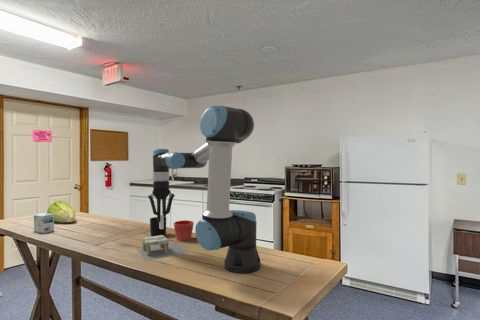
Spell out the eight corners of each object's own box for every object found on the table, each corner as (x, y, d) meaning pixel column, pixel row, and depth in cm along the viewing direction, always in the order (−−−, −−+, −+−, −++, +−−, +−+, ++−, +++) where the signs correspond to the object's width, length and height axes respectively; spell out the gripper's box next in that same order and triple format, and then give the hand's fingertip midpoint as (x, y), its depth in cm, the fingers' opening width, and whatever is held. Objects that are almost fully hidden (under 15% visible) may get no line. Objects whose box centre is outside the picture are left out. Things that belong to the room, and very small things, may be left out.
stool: (168, 239, 141) (146, 242, 136) (168, 252, 141) (146, 255, 136) (162, 235, 150) (142, 237, 145) (162, 246, 150) (142, 249, 145)
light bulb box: (54, 231, 186) (54, 214, 186) (43, 233, 180) (43, 215, 180) (44, 229, 191) (44, 212, 191) (33, 231, 185) (33, 214, 185)
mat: (188, 253, 140) (188, 253, 140) (145, 261, 130) (145, 260, 130) (176, 243, 157) (176, 242, 157) (136, 249, 148) (136, 248, 148)
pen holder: (163, 232, 181) (163, 216, 181) (168, 235, 173) (168, 218, 173) (147, 234, 176) (147, 218, 176) (152, 238, 168) (152, 220, 168)
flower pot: (189, 242, 158) (189, 224, 158) (170, 241, 161) (170, 224, 161) (196, 237, 169) (196, 220, 169) (178, 236, 171) (178, 220, 171)
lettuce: (82, 228, 215) (58, 235, 203) (67, 213, 228) (44, 218, 216) (82, 210, 210) (58, 216, 198) (67, 196, 224) (44, 201, 212)
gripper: (172, 179, 151) (172, 225, 151) (145, 180, 145) (146, 228, 145) (176, 180, 144) (176, 228, 145) (149, 181, 138) (149, 231, 138)
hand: (161, 228), depth 145 cm, fingers closed
